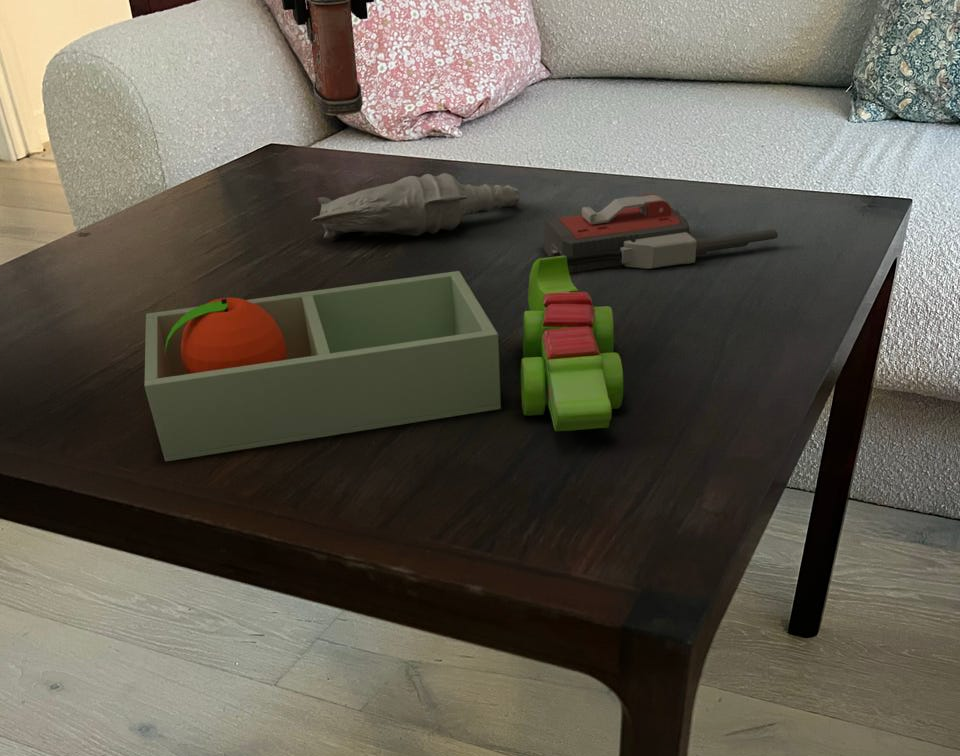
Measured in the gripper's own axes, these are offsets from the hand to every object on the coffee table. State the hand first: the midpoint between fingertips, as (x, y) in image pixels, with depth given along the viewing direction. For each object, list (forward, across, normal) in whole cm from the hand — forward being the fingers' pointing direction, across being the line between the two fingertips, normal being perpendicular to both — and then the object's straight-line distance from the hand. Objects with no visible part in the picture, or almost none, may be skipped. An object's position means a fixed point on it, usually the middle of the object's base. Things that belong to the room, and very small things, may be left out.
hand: (330, 15), depth 73 cm
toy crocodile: (+21, +11, -19) cm, 30 cm away
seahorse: (+21, +8, +17) cm, 28 cm away
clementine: (+20, -11, -15) cm, 28 cm away
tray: (+21, -5, -15) cm, 26 cm away
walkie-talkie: (+21, +26, +3) cm, 34 cm away
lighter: (+6, 0, 0) cm, 6 cm away
